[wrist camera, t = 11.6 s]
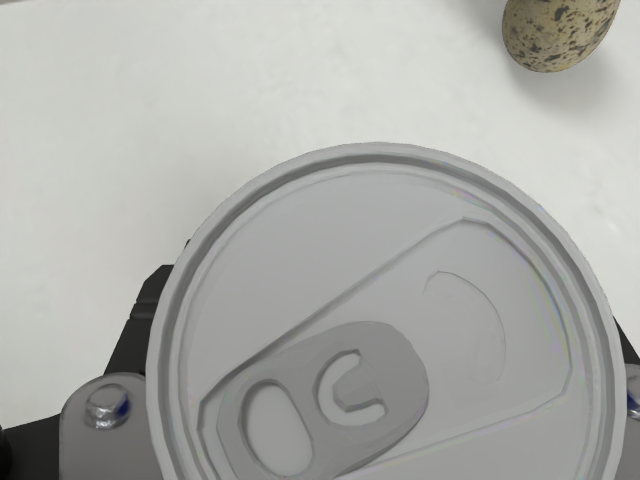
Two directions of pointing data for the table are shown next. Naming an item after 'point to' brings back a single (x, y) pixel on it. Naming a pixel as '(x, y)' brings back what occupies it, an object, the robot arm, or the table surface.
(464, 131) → the table surface
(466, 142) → the table surface
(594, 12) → the decorative egg
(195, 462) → the beverage can
